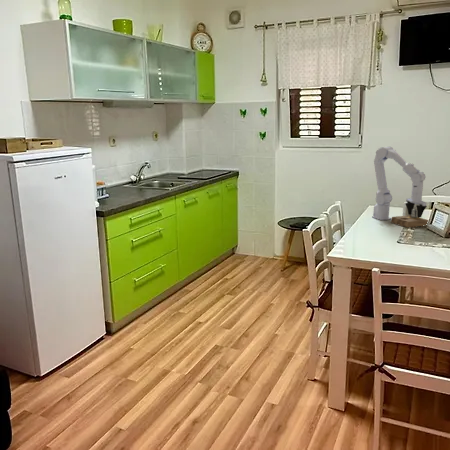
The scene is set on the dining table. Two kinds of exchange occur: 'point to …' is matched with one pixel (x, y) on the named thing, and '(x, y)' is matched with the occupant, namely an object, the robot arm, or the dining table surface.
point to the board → (409, 221)
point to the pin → (414, 213)
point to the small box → (405, 210)
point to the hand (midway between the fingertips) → (414, 215)
